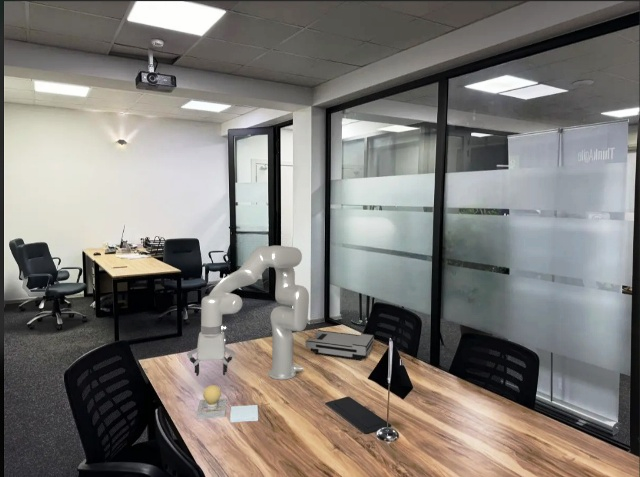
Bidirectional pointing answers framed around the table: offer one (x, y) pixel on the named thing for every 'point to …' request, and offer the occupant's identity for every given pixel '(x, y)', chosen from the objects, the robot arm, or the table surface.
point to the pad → (244, 413)
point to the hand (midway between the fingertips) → (210, 374)
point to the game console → (341, 345)
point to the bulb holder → (211, 413)
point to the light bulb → (212, 396)
